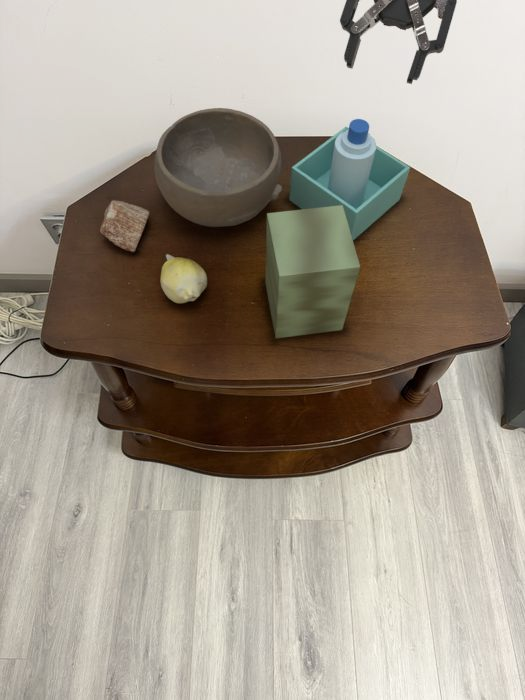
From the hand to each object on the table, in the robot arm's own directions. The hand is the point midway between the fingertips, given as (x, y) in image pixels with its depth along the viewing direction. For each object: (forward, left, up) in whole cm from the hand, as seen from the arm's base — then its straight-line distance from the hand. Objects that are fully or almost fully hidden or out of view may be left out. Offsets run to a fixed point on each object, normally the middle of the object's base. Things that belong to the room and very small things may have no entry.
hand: (379, 74), depth 73 cm
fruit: (+10, +36, -14) cm, 40 cm away
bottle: (-2, +10, -14) cm, 17 cm away
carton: (-2, +10, -14) cm, 17 cm away
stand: (-6, +30, -14) cm, 33 cm away
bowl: (+14, +20, -14) cm, 28 cm away
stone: (+22, +33, -14) cm, 42 cm away
